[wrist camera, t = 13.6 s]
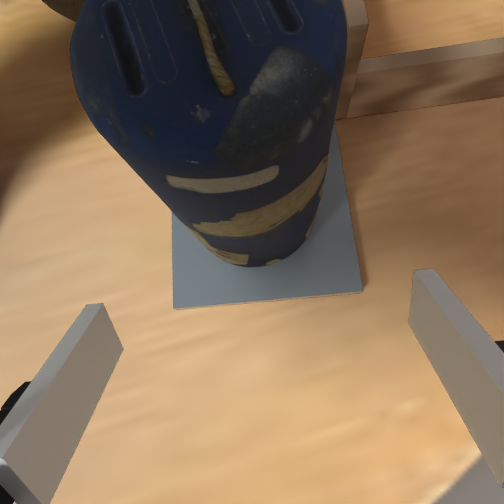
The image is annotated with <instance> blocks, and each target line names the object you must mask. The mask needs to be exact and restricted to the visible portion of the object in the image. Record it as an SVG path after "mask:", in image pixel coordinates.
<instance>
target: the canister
mask: <svg viewBox="0 0 504 504" xmlns="http://www.w3.org/2000/svg"><path fill="white" fill-rule="evenodd" d="M346 53H347V23H346V16H345V11H344V8H343V4H342V1H341V0H86V1H85V3H84V5H83V7H82V9H81V12H80V14H79V17H78V20H77V23H76V25H75V28H74V31H73V35H72V38H71V43H70V59H71V69H72V76H73V80H74V85H75V89H76V91H77V94H78V97H79V99H80V101H81V103H82V106H83V107H84V109H85V111H86V113H87V115H88V117H89V118H90V120H91V122H92V123H93V125H94V126H95V128H96V129H97V130H98V132H99V133H100V134H101V135H102V136H103V137H104V138H105V139H106V140H107V142H108V143H109V144H110V145H111V146H112V147H113V148H114V149H115V150H116V151H117V152H118V154H119V155H120V156H121V157H122V158H123V159H124V160H125V161H126V162H127V163H128V164H129V165H130V166H131V168H132V169H133V170H134V171H135V172H136V173H137V174H138V175H139V176H140V177H141V178H142V179H143V180H144V182H145V183H146V184H147V185H148V186H149V187H150V188H151V189H152V190H153V191H154V192H155V193H156V194H157V195H158V196H159V197H160V198H161V200H162V201H163V202H164V203H165V204H166V205H167V206H168V207H169V208H170V210H171V211H172V212H173V213H174V215H175V216H176V217H177V218H178V219H179V220H180V221H181V222H182V224H184V225H185V227H186V228H187V229H188V230H189V231H190V232H191V233H192V234H193V235H194V236H195V237H196V238H197V239H198V240H199V241H200V243H201V244H202V245H203V246H204V247H205V248H206V249H207V250H208V251H209V252H210V253H212V254H213V255H214V256H216V257H217V258H219V259H221V260H223V261H225V262H227V263H230V264H233V265H236V266H241V267H262V266H267V265H271V264H275V263H277V262H279V261H282V260H283V259H285V258H287V257H288V256H290V255H291V254H293V253H294V252H295V251H296V250H297V249H298V248H299V247H300V246H301V245H302V244H303V243H304V242H305V240H306V239H307V238H308V236H309V234H310V232H311V230H312V228H313V225H314V222H315V219H316V216H317V211H318V206H319V202H320V200H321V199H322V192H323V186H324V181H325V176H326V170H327V164H328V162H329V160H330V155H329V147H330V141H331V136H332V130H333V125H334V120H335V115H336V109H337V104H338V98H339V93H340V88H341V83H342V78H343V73H344V68H345V62H346Z"/></svg>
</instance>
